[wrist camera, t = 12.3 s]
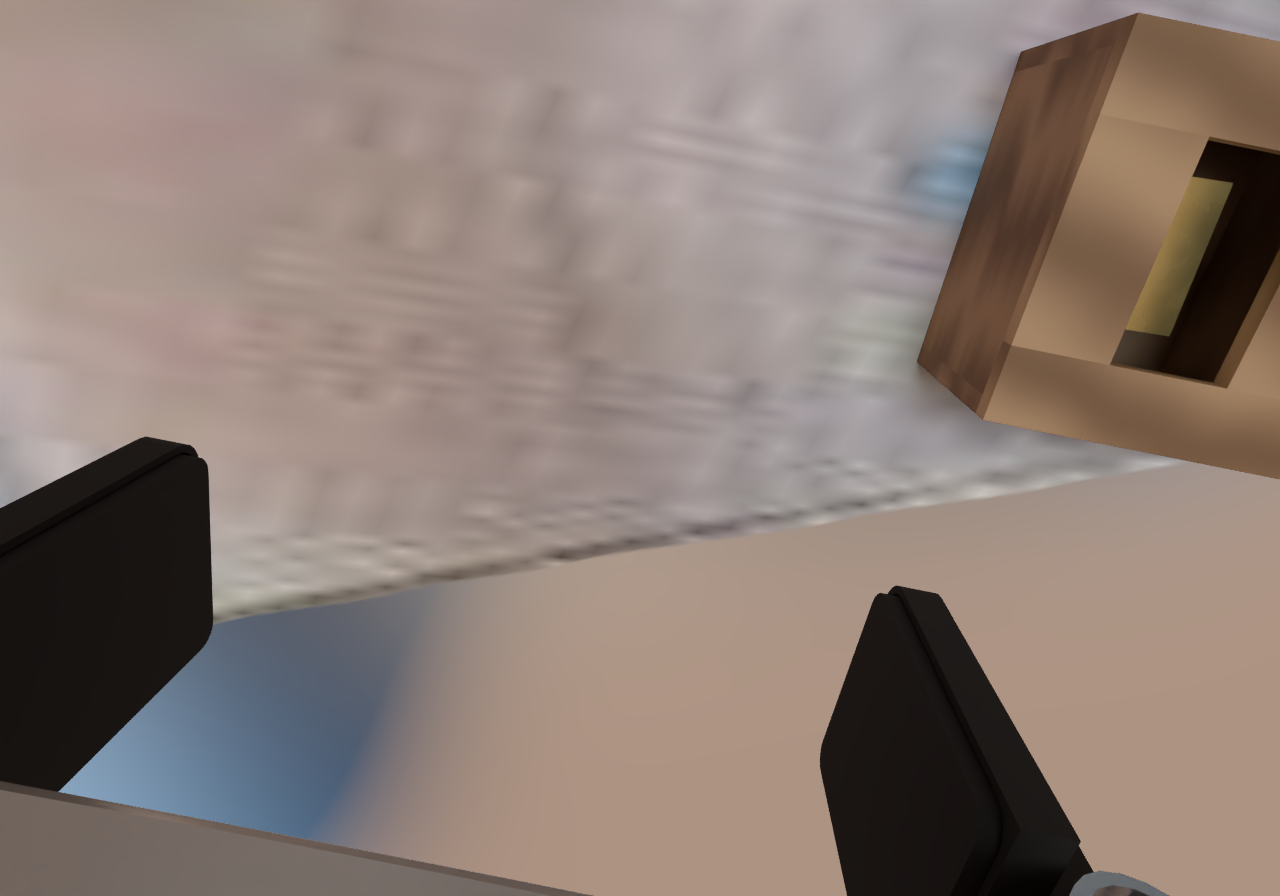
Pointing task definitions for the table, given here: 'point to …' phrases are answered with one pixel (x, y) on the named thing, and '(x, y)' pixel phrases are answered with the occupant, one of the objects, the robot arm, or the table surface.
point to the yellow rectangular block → (1179, 257)
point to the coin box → (1124, 248)
